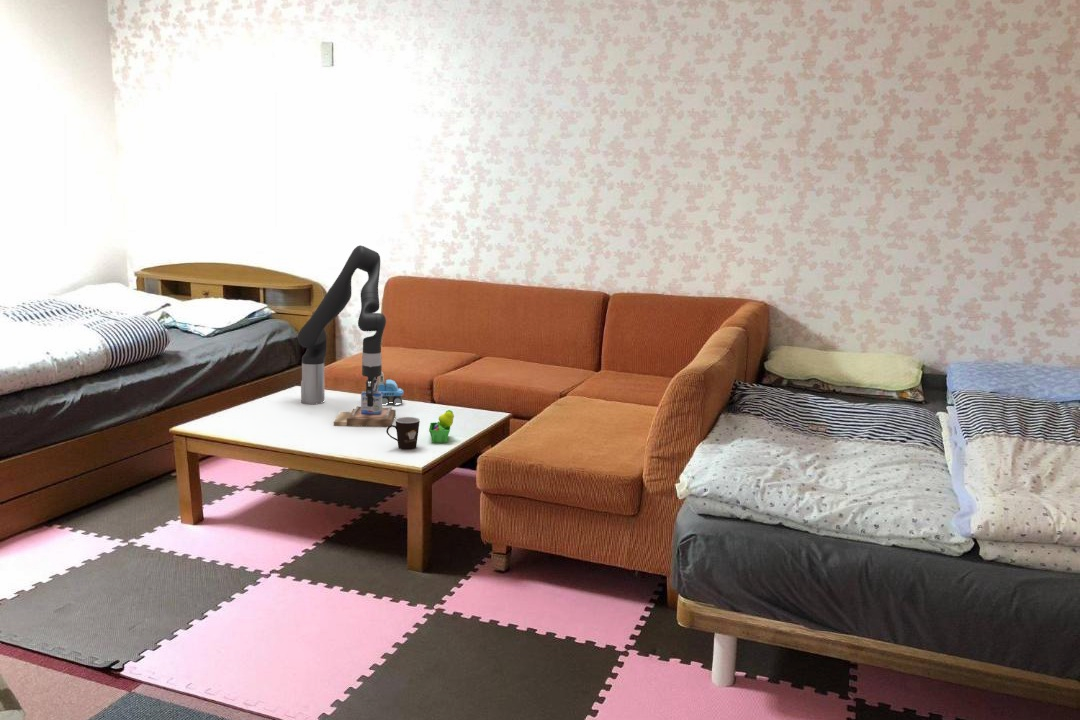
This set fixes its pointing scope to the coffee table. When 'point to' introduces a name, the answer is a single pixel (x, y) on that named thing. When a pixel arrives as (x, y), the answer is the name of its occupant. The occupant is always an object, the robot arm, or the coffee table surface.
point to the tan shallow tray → (366, 418)
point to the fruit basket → (441, 427)
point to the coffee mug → (406, 432)
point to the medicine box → (377, 403)
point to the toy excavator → (389, 391)
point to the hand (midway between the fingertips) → (371, 403)
